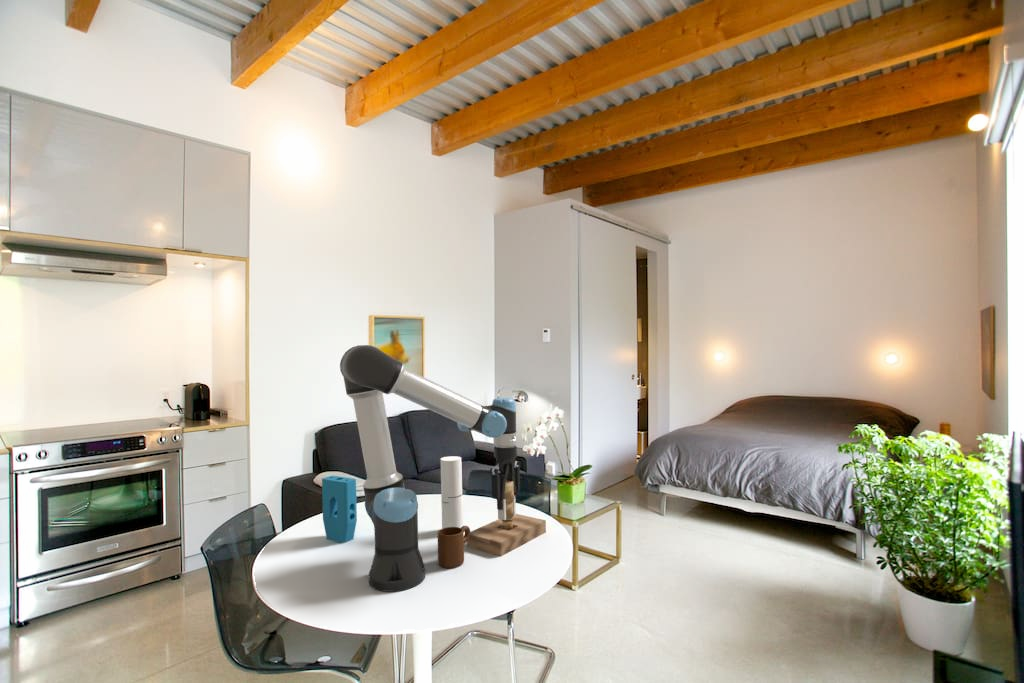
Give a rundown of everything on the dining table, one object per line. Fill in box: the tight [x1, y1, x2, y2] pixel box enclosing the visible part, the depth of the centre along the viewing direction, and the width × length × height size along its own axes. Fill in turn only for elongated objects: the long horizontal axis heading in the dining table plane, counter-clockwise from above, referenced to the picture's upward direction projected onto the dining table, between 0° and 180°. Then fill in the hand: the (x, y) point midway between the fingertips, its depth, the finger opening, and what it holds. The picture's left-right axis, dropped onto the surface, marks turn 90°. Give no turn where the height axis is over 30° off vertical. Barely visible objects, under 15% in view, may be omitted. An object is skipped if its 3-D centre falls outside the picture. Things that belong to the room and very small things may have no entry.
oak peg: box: [500, 480, 514, 531], centre depth 169 cm, size 5×5×16 cm
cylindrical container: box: [440, 455, 464, 529], centre depth 177 cm, size 7×7×25 cm
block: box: [321, 475, 358, 544], centre depth 173 cm, size 12×5×20 cm, turn 59°
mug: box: [437, 525, 471, 569], centre depth 153 cm, size 12×8×9 cm, turn 143°
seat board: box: [466, 513, 547, 557], centre depth 169 cm, size 24×14×4 cm, turn 142°
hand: (507, 516), depth 169 cm, fingers closed on oak peg, 4 cm apart
